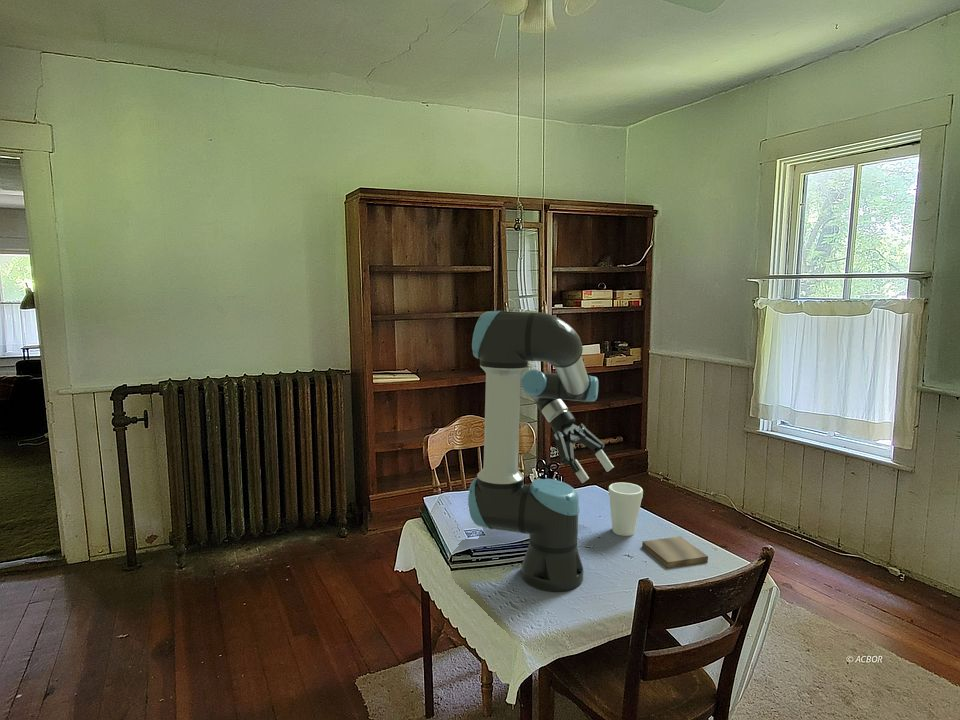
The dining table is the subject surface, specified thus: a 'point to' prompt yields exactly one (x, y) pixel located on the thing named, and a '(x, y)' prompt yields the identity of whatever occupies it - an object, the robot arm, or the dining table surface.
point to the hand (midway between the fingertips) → (598, 475)
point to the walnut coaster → (674, 551)
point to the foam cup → (625, 507)
